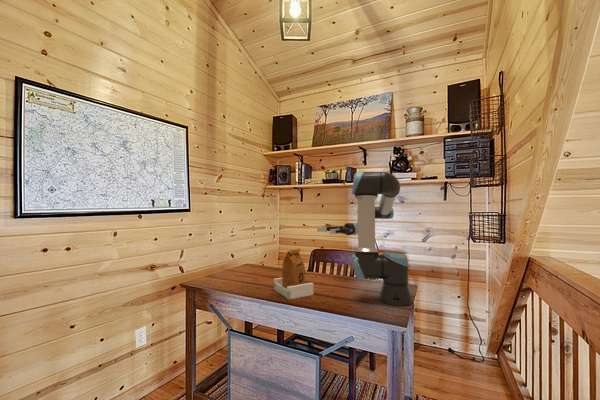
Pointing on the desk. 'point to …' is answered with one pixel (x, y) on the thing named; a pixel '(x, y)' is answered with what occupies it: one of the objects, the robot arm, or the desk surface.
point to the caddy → (293, 289)
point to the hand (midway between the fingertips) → (323, 230)
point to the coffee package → (293, 269)
